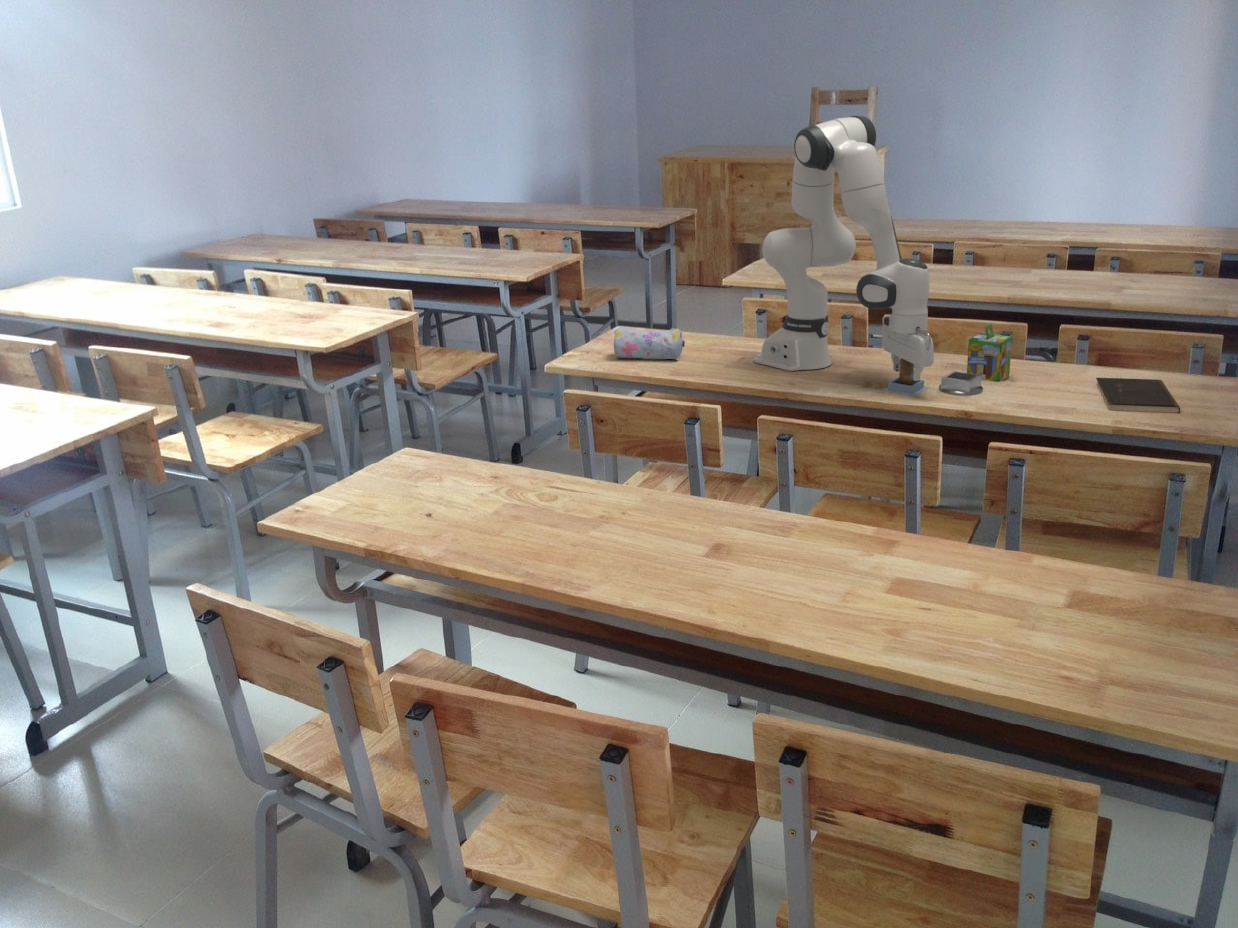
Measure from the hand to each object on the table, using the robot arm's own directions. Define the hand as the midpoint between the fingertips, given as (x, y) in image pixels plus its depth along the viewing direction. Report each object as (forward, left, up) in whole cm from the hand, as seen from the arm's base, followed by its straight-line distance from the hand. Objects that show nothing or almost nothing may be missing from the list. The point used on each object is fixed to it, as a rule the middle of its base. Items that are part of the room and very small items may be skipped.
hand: (906, 375), depth 282 cm
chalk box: (+13, +23, -5) cm, 27 cm away
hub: (+12, +7, -5) cm, 15 cm away
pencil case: (-79, -8, -5) cm, 79 cm away
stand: (0, 0, -5) cm, 5 cm away
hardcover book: (+50, +26, -6) cm, 57 cm away
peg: (0, 0, -4) cm, 4 cm away
